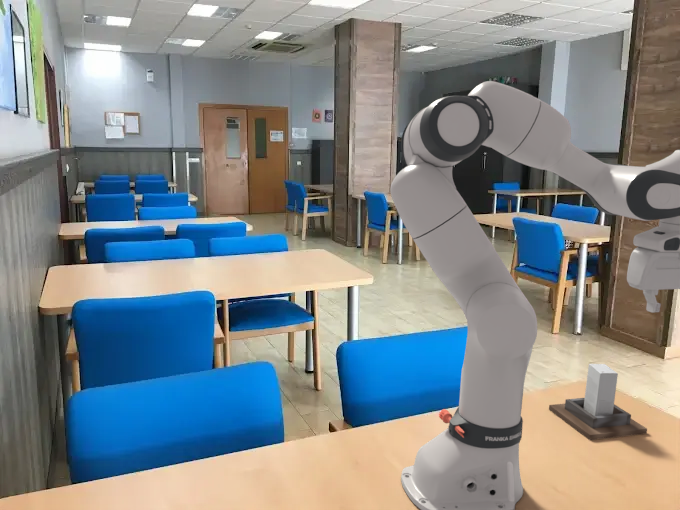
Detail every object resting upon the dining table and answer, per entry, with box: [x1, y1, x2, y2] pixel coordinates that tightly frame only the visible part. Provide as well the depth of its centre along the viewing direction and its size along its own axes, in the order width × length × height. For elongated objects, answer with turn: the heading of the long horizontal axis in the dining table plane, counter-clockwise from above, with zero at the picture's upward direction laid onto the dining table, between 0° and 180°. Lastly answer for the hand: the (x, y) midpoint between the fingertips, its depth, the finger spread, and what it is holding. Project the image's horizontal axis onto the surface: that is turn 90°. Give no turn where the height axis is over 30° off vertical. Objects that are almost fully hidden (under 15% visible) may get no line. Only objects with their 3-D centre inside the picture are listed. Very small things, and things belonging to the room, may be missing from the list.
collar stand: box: [548, 397, 648, 441], centre depth 133 cm, size 15×15×4 cm
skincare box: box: [583, 363, 619, 416], centre depth 132 cm, size 6×4×12 cm
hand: (673, 310), depth 108 cm, fingers open, 8 cm apart
